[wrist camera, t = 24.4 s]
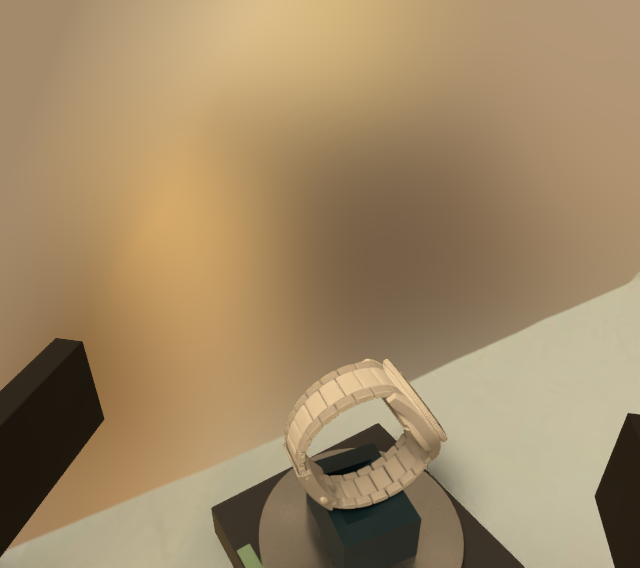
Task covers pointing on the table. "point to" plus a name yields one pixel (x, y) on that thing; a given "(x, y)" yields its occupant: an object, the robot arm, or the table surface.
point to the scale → (246, 508)
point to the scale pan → (308, 544)
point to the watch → (364, 466)
